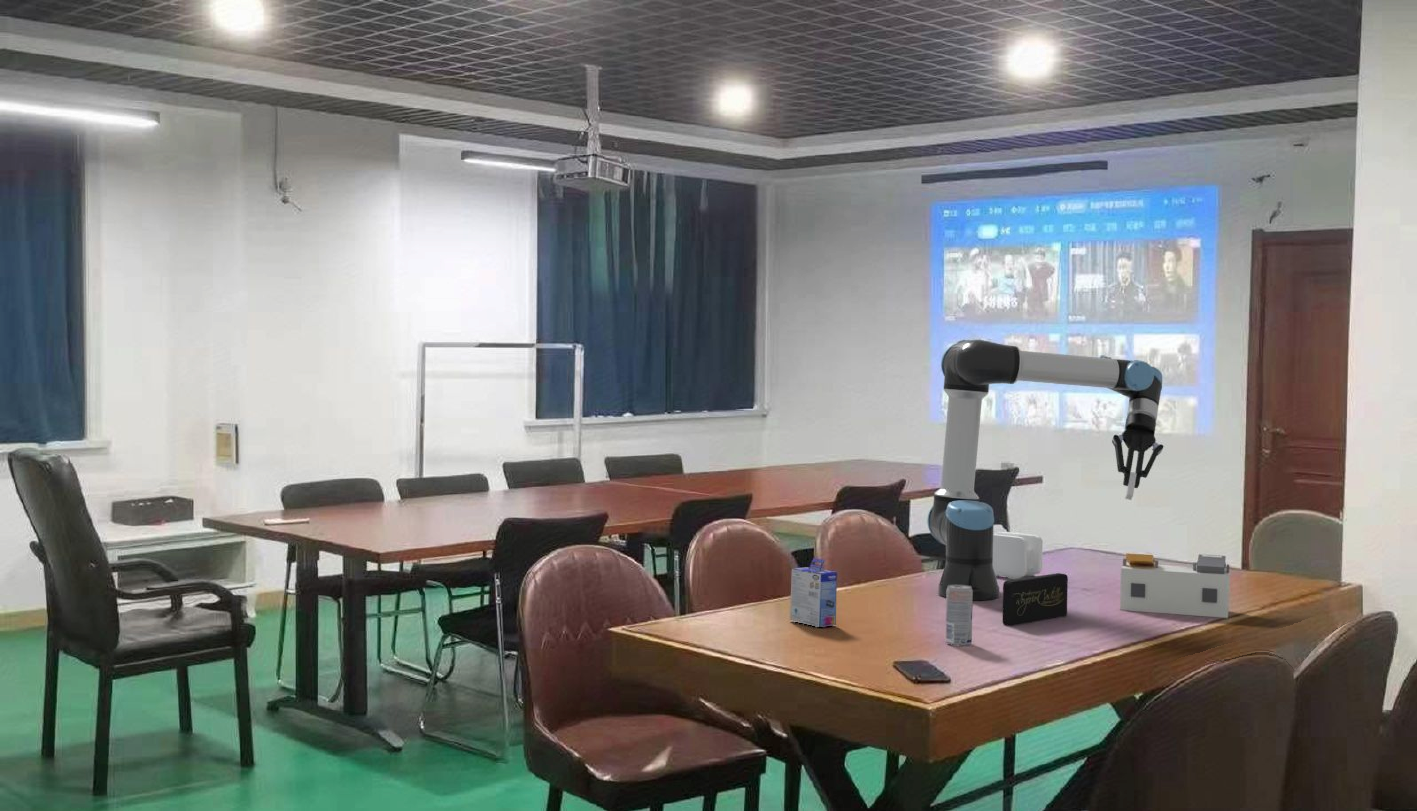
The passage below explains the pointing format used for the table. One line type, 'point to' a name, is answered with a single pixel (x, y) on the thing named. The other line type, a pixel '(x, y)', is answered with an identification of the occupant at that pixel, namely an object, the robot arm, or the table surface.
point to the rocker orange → (1140, 559)
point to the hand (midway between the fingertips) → (1129, 496)
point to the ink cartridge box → (813, 595)
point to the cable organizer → (1017, 554)
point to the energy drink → (959, 615)
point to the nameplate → (1034, 599)
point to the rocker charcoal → (1211, 564)
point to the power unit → (1174, 590)
